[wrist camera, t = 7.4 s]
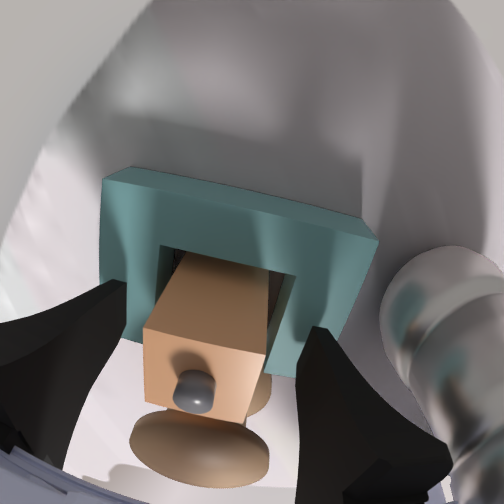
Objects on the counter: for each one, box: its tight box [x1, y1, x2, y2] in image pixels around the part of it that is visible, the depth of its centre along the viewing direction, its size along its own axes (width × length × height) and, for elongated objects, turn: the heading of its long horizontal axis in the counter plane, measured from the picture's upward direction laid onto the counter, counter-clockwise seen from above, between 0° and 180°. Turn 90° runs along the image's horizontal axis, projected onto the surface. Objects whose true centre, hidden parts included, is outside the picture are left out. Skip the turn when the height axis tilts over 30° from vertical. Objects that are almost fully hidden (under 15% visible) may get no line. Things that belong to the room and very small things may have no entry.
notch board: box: [99, 167, 379, 378], centre depth 13 cm, size 10×7×2 cm
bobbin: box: [129, 363, 272, 488], centre depth 15 cm, size 6×6×6 cm
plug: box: [143, 251, 269, 424], centre depth 12 cm, size 4×4×7 cm
